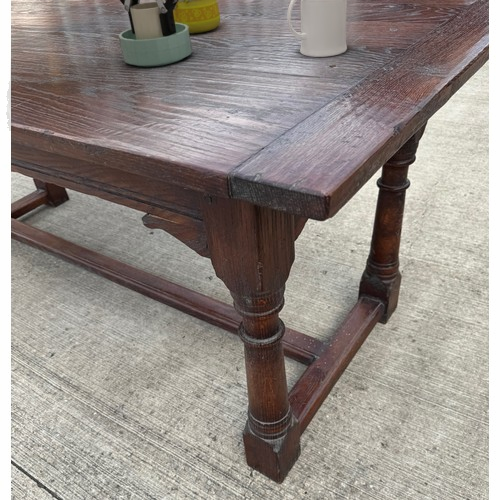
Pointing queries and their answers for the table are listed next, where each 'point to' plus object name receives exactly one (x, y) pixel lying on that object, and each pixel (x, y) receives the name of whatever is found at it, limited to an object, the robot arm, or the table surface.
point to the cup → (146, 20)
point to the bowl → (156, 47)
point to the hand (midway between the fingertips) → (154, 32)
